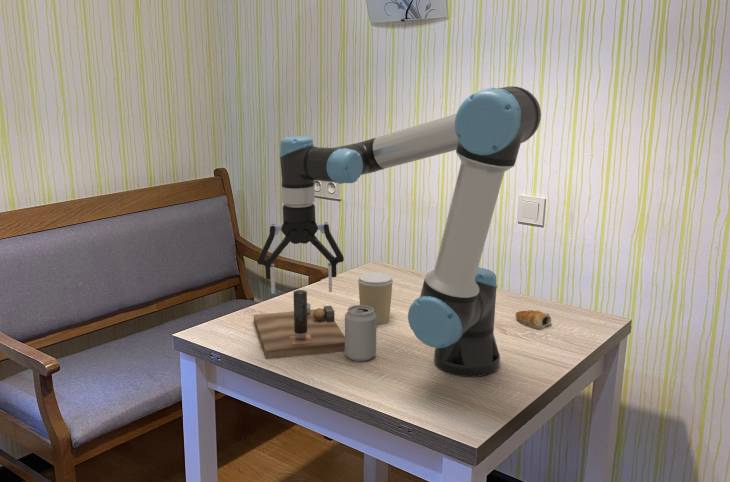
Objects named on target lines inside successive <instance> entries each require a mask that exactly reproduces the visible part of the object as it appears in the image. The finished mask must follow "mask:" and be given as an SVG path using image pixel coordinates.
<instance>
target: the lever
mask: <svg viewBox="0 0 730 482" xmlns="http://www.w3.org/2000/svg"><path fill="white" fill-rule="evenodd" d="M311 310H312V309H311V303H308V292H307V290H303V289H298V290H294V291H293V311H294V332H295V333H296V339H306V332H307V314H309V313H310V312H311Z"/></svg>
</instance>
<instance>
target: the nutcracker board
mask: <svg viewBox="0 0 730 482" xmlns="http://www.w3.org/2000/svg"><path fill="white" fill-rule="evenodd" d="M253 324H254V327H255V329H256V333H257V336H258V339H259V342H260V345H261V349H262V351H263V354H264V358H265V359H266V360H268V359H275V358H276V359H277V358H286V357H295V356H304V355H305V356H306V355H315V354H323V353H325V354H326V353H334V352H343V351H344V352H345V334H344V333H343V331H342V329H341V328H340V327H339V326H338V324H337V322H336V321H335V309H334V308H333V307H332V305H323V308H319V307H318V308H316V309H311V312H310V313H309V314H307V332H306V339H296V333H295V332H294V310H293V311H283V312H274V313H261V314H254V315H253Z"/></svg>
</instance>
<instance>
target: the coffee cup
mask: <svg viewBox="0 0 730 482" xmlns="http://www.w3.org/2000/svg"><path fill="white" fill-rule="evenodd" d="M357 282H358V295H359V297H358V298H359V305H366V306H370V307H372V308H373V309H374V313H375V314H376V315H377V320H376V325H384V324H385V323H388V322H389V321H390V315H391V314H390V313H391V305H392V293H393V283H394V279H393V276H392V275H391V274H388V273H385V272H381V271H380V272H379V271H371V272H365V273H362V274H360V275H359V276H358V279H357Z"/></svg>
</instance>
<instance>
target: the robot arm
mask: <svg viewBox="0 0 730 482" xmlns="http://www.w3.org/2000/svg"><path fill="white" fill-rule="evenodd" d="M541 110H542V109H541V106H540V104H539V101H538V99H537V97H535V96H534V94H532V93H531V92H530V91H529V90H527V89H525V88H522V87H519V86H513V85H511V86H505V87H497V88H496V87H489V88H483V89H481V90H478V91H477V92H475V93H472V94H470V95H469V96H468V97H466V99H464V100H463V102H462V103H461V105H460V106H459V108H458V109H457V111H456V113H453V114H450V115H447V116H444V117H440V118H437V119H433V120H430V121H428V122H424V123H420V124H417V125H413V126H410V127H407V128H404V129H401V130H397V131H394V132H390V133H387V134H383V135H380V136H377V137H373V138H371V139H366V140H364V141H360V142H359V141H358V142H355V143H352V144H351V143H350V144H346V145H345V144H344V145H341V146H335V147H321V146H320V147H319V146H315V145H314V140H313V138H312V137H310V136H306V135H305V136H303V135H301V136H299V135H296V136H295V135H294V136H293V135H292V136H286V137H283V138H282V139H281V140H280V143H279V145H280V146H279V147H280V148H279V149H280V151H279V152H280V153H279V159H280V160H279V161H280V172H281V175H280V176H281V201H282V202H281V203H282V204H284V205H283V206H282V225H276V224H275V223H271V224H270V226H269V235H268V236H267V239H266V241H265V243H264V246H263V248H262V250H261V252H260V253H259V256H258V258H257V265H259V266H261V265H262V266H264V267H265V278H266V280H270V289H271V290H270V291H271V293H270V294H271V295H273V294H276V278H275V277H276V276H275V275H276V274H275V263H274V262H275V260H277V258H278V257H279V255H281V253H282V252H283V250H284V249H285V248H286V247H287V246H288V245H289V243H292V244H293V245H297V244H303V245H304V244H306V245H307V244H308V243H309V242H310V243H311V244H312V245H313V247H315V248H316V249H317V250H318V252H320V253H321V255H323V257H324V258H325V259H326V260H327V261H328V262H327V267H328V268H327V269H328V270H327V271H328V272H327V273H328V292H329V293H332V292H333V278H337V265H338V264H340V263H343V262H344V259H345V258H344V255H343V253H342V251H341V249H340V247H339V246H338V244H337V242H336V240H335V238H334V236H333V235H332V233H331V230H330V225H329V223H328V222H327V221H326V222H325V221H324V223H320V224H318V223H317V221H316V205H315V204H314V203H315V202H316V199H315V196H316V194H315V181H318V182H328V183H336V184H340V185H341V184H354V183H356V182H357V181H358V179H359V178H360V177H361V176H363V175H367V174H368V175H369V174H371V173H376V172H378V171H381V170H386V169H388V168H392V167H396V166H401V165H404V164H408V163H412V162H416V161H419V160H424V159H426V158H427V159H428V158H431V157H435V156H439V155H442V154H446V153H450V152H453V151H455V153H456V155H457V156H458V158H459V159H460V167H459V170H458V173H457V177H456V178H457V179H456V182H455V187H454V189H453V194H452V198H451V202H450V207H449V210H448V214H447V218H446V223H445V225H444V230H443V233H442V237H441V241H440V245H439V246H440V247H439V250H438V254H437V258H436V262H435V266H434V269H433V270H431V271H429V272H427V273H426V274H425V276H424V281H423V283H422V288H421V290H420V291H421V293H420V295H419V297H418V298H416V299H414V300H413V302H412V304H411V305H409V308H408V313H407V319H408V325H409V327H410V329H411V331H412V332H413V334H414V336H415V338H417V339H418V340H419V341H420V342H421V343H423V344H424V345H426V346H428V347H430V348H435V349H434V354H433V356H434V357H433V362H434V365H435V367H437V368H438V369H439V370H441V371H443V372H446V373H447V374H451V375H455V376H460V377H468V378H469V377H484V376H488V375H490V374H493V373H495V372H496V371H498V369H499V368H500V364H501V363H500V361H501V360H500V359H501V356H500V353H499V352H500V351H499V349H498V345H497V341H496V337H495V334H494V331H495V329H494V328H495V315H496V299H497V288H498V284H497V275H496V273H495V272H494V271H493V270H491V269H487V268H485V267H484V268H483V267H480V266H479V265H480V262H481V258H482V255H483V252H484V249H485V244H486V240H487V237H488V233H489V229H490V226H491V222H492V218H493V215H494V212H495V208H496V204H497V201H498V196H499V194H500V189H501V187H502V186H501V185H502V183H503V179H504V174H505V173H506V172H507V171H509V170H510V169H512V168H514V167H515V166H516V165H515V164H516V161H517V158H518V155H519V151H520V147H521V144H522V143H525V142H526V141H528V140H530V139H531V138H532V136H534V135H535V133H536V132H537V130H538V129H539V127H540V124H541V121H542V118H541V117H542V111H541ZM318 231H320V233H321V234H324V236H325V239H326V240H327V241H328V244H329V247H331V249H332V252H333V253H334V255H335V256H334V255H333V254H332V253H331V252H330V251H329V249H328V248H326V247H325V246H324V244H323V243H322V242H321V241H320V240H319V238H318V237H317V236H316V233H317V232H318ZM280 232H282V234H283V235H284V236H285V237H283V239H282V240H281V242H280V243H279V244H278V246H276V248H275V249H274V250H273V251H272V253H271V254H270V255H269V256H268V257H267V258H266V256H267V254H268V251H269V250H270V248H271V245H272V243H273V241H274V238H275V235H276V236H277V235H278V234H279V233H280Z"/></svg>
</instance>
